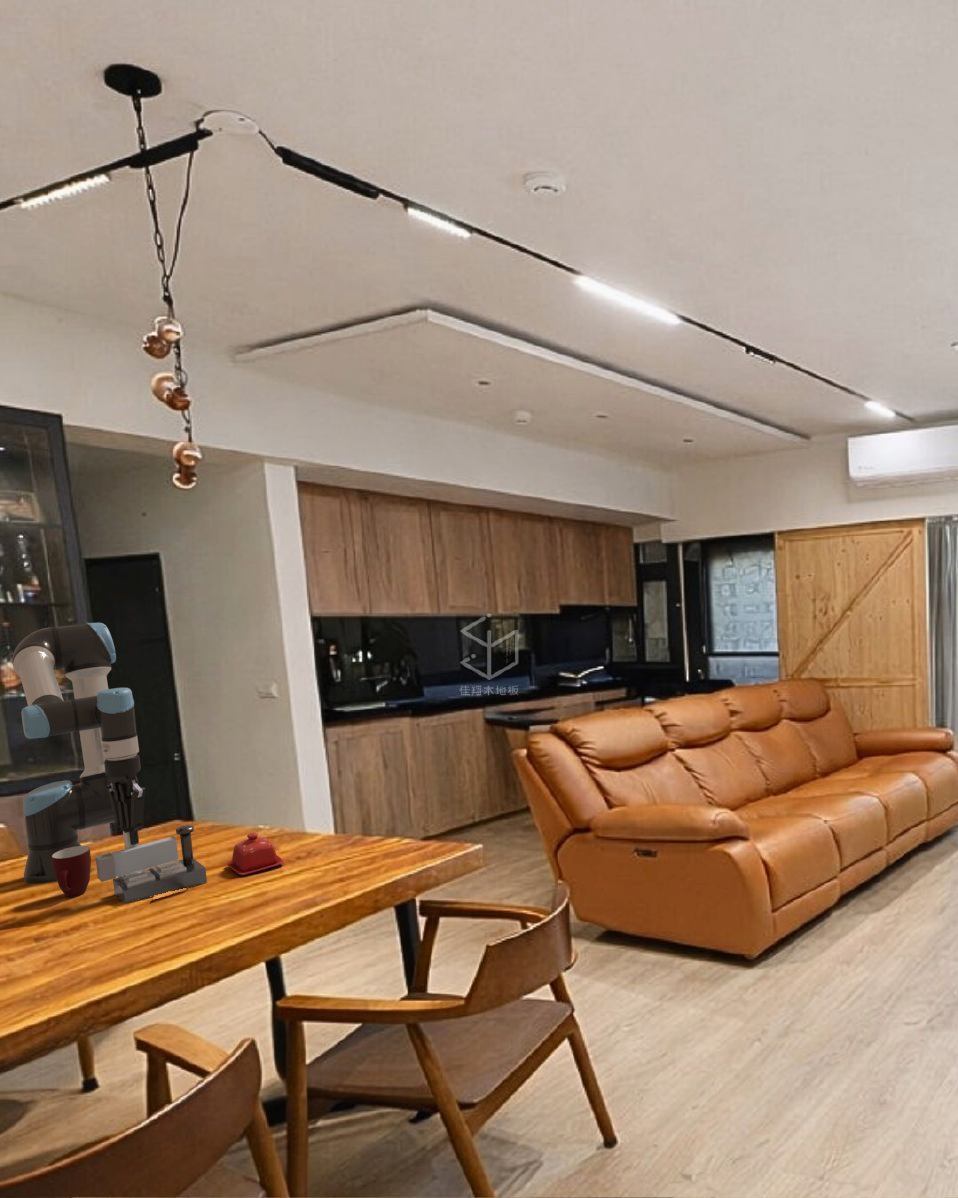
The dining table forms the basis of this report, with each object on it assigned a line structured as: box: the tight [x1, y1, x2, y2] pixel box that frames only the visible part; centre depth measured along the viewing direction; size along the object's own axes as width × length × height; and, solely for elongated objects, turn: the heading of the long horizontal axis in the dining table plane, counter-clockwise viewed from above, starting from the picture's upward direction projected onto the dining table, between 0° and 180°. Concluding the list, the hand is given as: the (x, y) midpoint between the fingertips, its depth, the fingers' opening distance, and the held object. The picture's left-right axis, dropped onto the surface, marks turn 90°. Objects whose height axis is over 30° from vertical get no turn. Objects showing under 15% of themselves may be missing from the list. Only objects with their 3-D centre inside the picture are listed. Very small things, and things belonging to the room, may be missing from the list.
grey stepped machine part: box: [112, 825, 208, 904], centre depth 197 cm, size 10×18×12 cm, turn 126°
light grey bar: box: [94, 836, 179, 883], centre depth 195 cm, size 17×4×5 cm, turn 126°
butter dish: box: [226, 832, 286, 876], centre depth 208 cm, size 12×12×8 cm
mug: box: [52, 845, 92, 898], centre depth 198 cm, size 11×8×10 cm
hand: (133, 857), depth 197 cm, fingers closed
